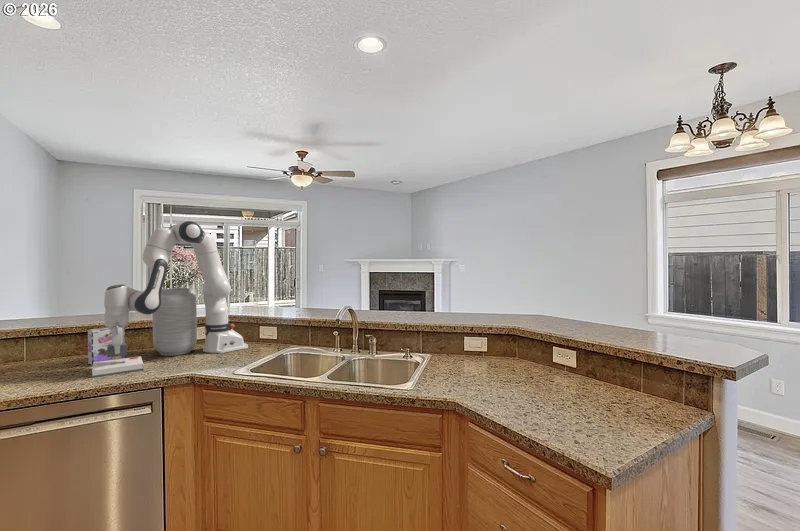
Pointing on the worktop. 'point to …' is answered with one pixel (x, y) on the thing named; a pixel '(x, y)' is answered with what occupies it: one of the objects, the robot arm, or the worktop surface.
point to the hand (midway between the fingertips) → (117, 351)
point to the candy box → (100, 344)
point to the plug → (112, 351)
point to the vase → (175, 322)
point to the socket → (117, 366)
